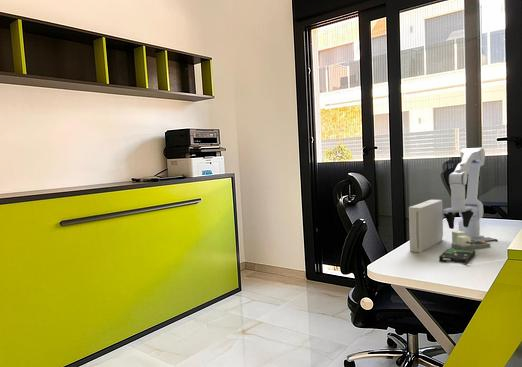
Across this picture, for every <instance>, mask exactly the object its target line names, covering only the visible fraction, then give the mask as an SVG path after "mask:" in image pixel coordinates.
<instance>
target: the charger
mask: <svg viewBox="0 0 522 367" xmlns="http://www.w3.org/2000/svg"><path fill="white" fill-rule="evenodd" d="M463 235H465V236H466V232H463V231H459V230H455V231H454V230H453V231H452V232H451V238H452V239H451V241H452V243H451V244H453V243H457V236H463Z"/></svg>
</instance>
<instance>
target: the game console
mask: <svg viewBox="0 0 522 367" xmlns="http://www.w3.org/2000/svg"><path fill="white" fill-rule="evenodd" d="M443 209H444V207H443V199H429V200H426V201H423V202H421V203H418V204H415V205H411V206H408V220H409V221H408V227H409V228H408V230H409V231H408V232H409V251H410V252H414V253H420V254H422V253H423V252H424V251H426V250H428V249H429V248H431V247H433V246H434V245H436V244H438V243H440V242H441V241H443V237H444V220H443V219H444V217H443V216H444V213H443Z"/></svg>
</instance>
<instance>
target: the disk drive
mask: <svg viewBox="0 0 522 367" xmlns="http://www.w3.org/2000/svg"><path fill="white" fill-rule="evenodd" d="M475 256H476V251H475V250H472V249H471V250H462V249H461V250H459V249H456V248H452V247H451V248H448V249H446V250H445V251H443V253H441V254H440V255H439V257H438V260H439V262H441V263H448V264H449V263H458V264H459V263H460V264H463V266H467V265H468V264H469V262H470V261H471V260H472V259H473V258H474V257H475Z"/></svg>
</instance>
